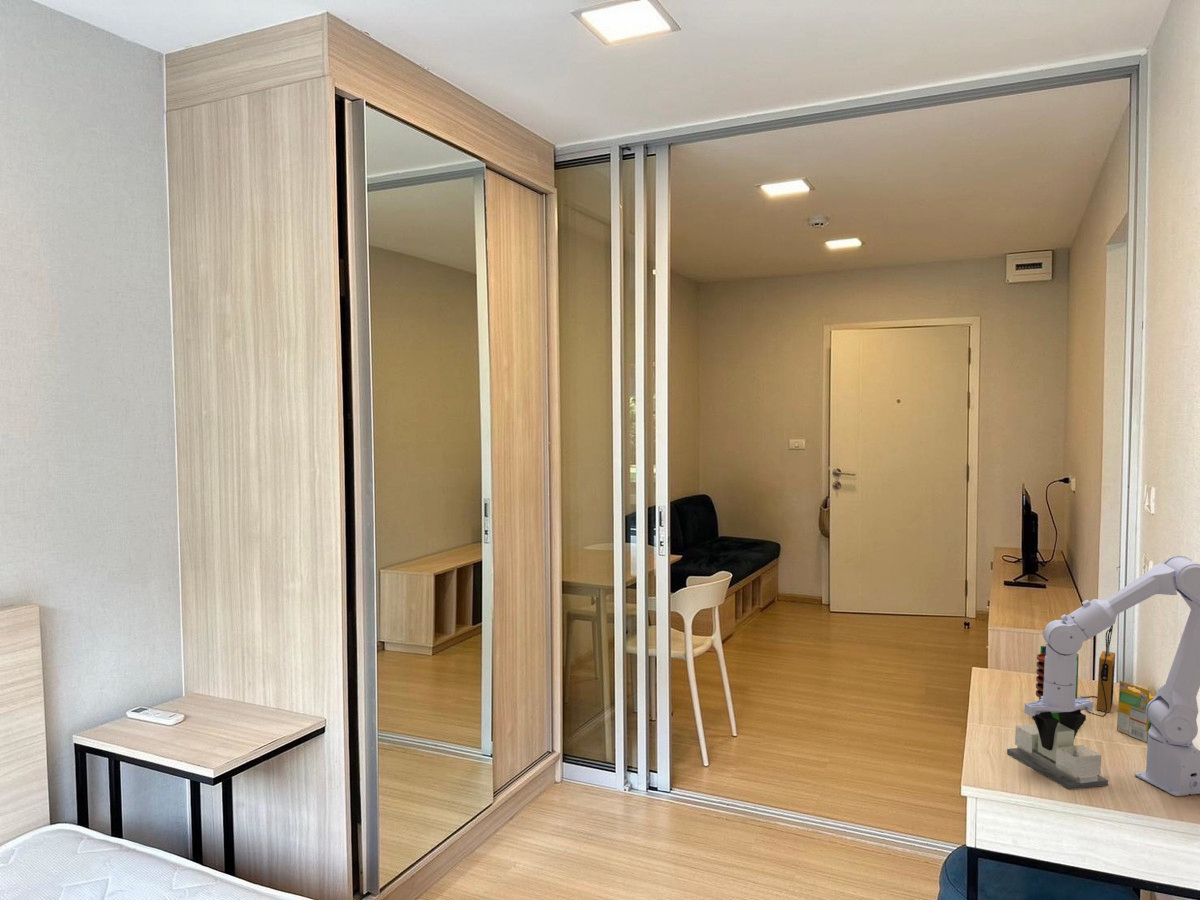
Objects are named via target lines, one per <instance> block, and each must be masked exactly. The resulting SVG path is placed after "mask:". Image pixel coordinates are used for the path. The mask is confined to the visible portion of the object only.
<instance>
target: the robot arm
mask: <svg viewBox="0 0 1200 900" xmlns="http://www.w3.org/2000/svg"><path fill="white" fill-rule="evenodd" d="M1178 593H1179V594H1180V595H1181V597H1182V599H1183V600H1184V602H1185V603H1186V604H1187V606H1188V607H1189V609H1190V611H1189V615H1188V618H1187V620H1186V623H1185V626H1184V628H1183V632H1182V635H1181V637H1180V641H1179V644H1178V647H1177V650H1176V652H1175V655H1174V658H1173V661H1172V664H1171V666H1170V669H1169V672H1168V676H1167V678H1166V682H1165V684H1164V685H1163V686H1161V687H1159V688H1158V690H1157V691H1156V695H1154V698H1153V699H1152V700H1151V701H1150V702H1149V703H1148V704H1147V706H1146V716H1147V719H1148V720H1149V721H1150V722H1151V723H1152V724H1151V727H1150V729H1149V731H1148V742H1147V744H1146V745H1147V748H1146V749H1147V750H1146V765H1145V771H1141V772H1135V773H1134V776H1135V777H1137V778H1139V779H1140V780H1143V781H1144V782H1147V783H1149V784H1151V785H1153V786H1155V787H1157V788H1158V789H1161V790H1163V791H1165V792H1166V793H1168V794H1171V795H1172V796H1174V797H1182V796H1189V794H1191V795H1198V794H1200V750H1199V748H1197V747H1196V746H1195V745H1194V743H1193V741H1194V740H1195V738H1196V737H1197V735H1198V732H1199V731H1198V730H1199V727H1198V723H1197V718H1198V715H1199V707H1198V702H1197V701H1198V700H1197V697H1198V694H1199V693H1198V692H1199V690H1200V563H1198V562H1196V561H1194V560H1192V559H1191V558H1190V557H1187V556H1183V555H1174V556H1171V557H1168V558H1167V559H1165V561H1164V562H1159V563H1157V564H1155V565H1154V566H1153V567H1151V568H1150V569H1149V570H1148V571H1146V572H1144V574H1142V575H1141V576H1139V577H1137V578H1136V579H1134V580H1133V581H1131V582H1129V583H1128V584H1127V585H1126V586H1124V587H1123V588H1120V590H1118V591H1116V592H1115V593H1113V594H1111V596H1109V597H1108V598H1106V599H1097V598H1093V599H1092V600H1090V601H1089V600H1088V599H1086V600H1083V601H1082V602H1081V604H1082V606H1081V607H1079V608H1077V609H1076V610H1074V611H1072V612H1070V613H1069V614H1067V615H1066V614H1065V613H1064V614H1063V615H1060V618H1061V619H1055V620H1052V621H1049V623H1047V624H1046V626H1045V628H1044V630H1042V637H1043V639H1044V640H1045V642H1046V645H1045V646H1046V656H1045V666H1044V687H1043V696H1041V699H1040V700H1039V699H1037V700H1035V701H1032V702H1028V703H1024V707H1023V708H1024V711H1023V713H1024V714H1026V715H1028V716H1030V717H1032V720H1033V721H1034V724H1036V726H1037V728H1038V731H1039V735H1040V739H1041V744H1042V747H1044V748H1045V749H1047V750H1052V748H1053V743H1054V734H1055V730H1056V727H1057V725H1058V723H1059V720H1060V724H1062V725H1064V726H1066V727H1068V728H1070V729H1072V730H1074V740H1075V739H1076V736H1077V734H1078V731H1079V730H1080V728H1081V726H1082V725H1083V724H1084V723H1085V721H1087V715H1086V714H1084V713H1082V711H1086V712H1087V711H1089V712H1092V711H1093V701H1091V700H1089V699H1088V698H1077V699H1075V694H1076V674H1077V653H1078V652H1079V651H1080V650H1081V648H1082V646H1083V643H1084V642H1086V641H1088V640H1089V639H1091V638H1093V637H1095V636H1096V635H1098V634H1100V633H1102V632H1103V631H1105V630H1106V629H1107V630H1108V629H1109V628H1110V627H1111V626H1112V625H1113V626H1114V625H1115V624H1116V619H1117V616H1118V614H1119V615H1120V614H1121V613H1123V612H1124V611H1126V610H1128V609H1131V608H1132V607H1134V606H1136V605H1138V604H1140V603H1142V602H1143V601H1145V600H1147V599H1149V598H1152V597H1154V596H1155V595H1165V596H1167V595H1168V596H1177V595H1178ZM1051 713H1058V715H1059V720H1057V719H1055V718H1053V715H1051Z"/></svg>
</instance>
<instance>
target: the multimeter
mask: <svg viewBox="0 0 1200 900" xmlns="http://www.w3.org/2000/svg"><path fill="white" fill-rule="evenodd" d="M1113 629H1114V624H1113V625H1112V626H1110V627H1109V628H1108V629H1107V631H1106V632H1105V650H1103V651H1102V652H1101V654H1100V656H1099V659H1098V679H1097V693H1096V694H1097V695H1080V696H1077V699H1088V698H1096V710H1097V711H1101V712H1104V715H1100V714H1097V713H1094V712H1092V711H1086V712H1088V713H1089V714H1091V715H1095V716H1098V717H1106V715H1107V713H1110V712H1111V709H1112V707H1113V700H1114V699H1113V698H1114V687H1115V686H1114V683H1115V666H1116V652H1112V651H1111V652H1110V645H1111V640H1112V636H1113V635H1112V634H1113Z"/></svg>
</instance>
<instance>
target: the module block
mask: <svg viewBox="0 0 1200 900" xmlns="http://www.w3.org/2000/svg"><path fill="white" fill-rule="evenodd" d="M1066 746H1075V739H1074V730H1072V729H1070V728H1068V727H1066V726H1064V725H1062V724H1060V723H1058V725H1057V727H1056V730H1055V734H1054V743H1053V748H1052V750H1047V749H1045V748H1044V747H1042V744H1041V739H1040V735H1039V734H1038V752H1039V753H1041V754H1043V755H1045V756H1047V757H1048V758H1050V759H1052V760H1054V761H1056V750H1057V747H1066Z"/></svg>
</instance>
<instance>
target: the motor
mask: <svg viewBox="0 0 1200 900" xmlns="http://www.w3.org/2000/svg"><path fill="white" fill-rule="evenodd" d="M1045 656H1046V645H1040V653H1039V654H1037V655H1036V660H1038V661H1036V667H1037V669H1036V671H1035V673H1036V675H1037V676H1036V677H1035V679H1036V683H1035V688H1036V690H1035V696H1036V697H1037V698H1038V700H1040V699H1041V696H1043V687H1044V666H1045ZM1079 656H1080V655H1079V653H1078V652H1077V674H1076V694H1075V699H1078V698H1077V697H1078V691H1079V689H1078V688H1079V687H1078V685H1079V659H1080V657H1079ZM1051 715H1053V718H1055V719H1057V720H1059V715H1058V713H1051ZM1059 723H1060V720H1059Z"/></svg>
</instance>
